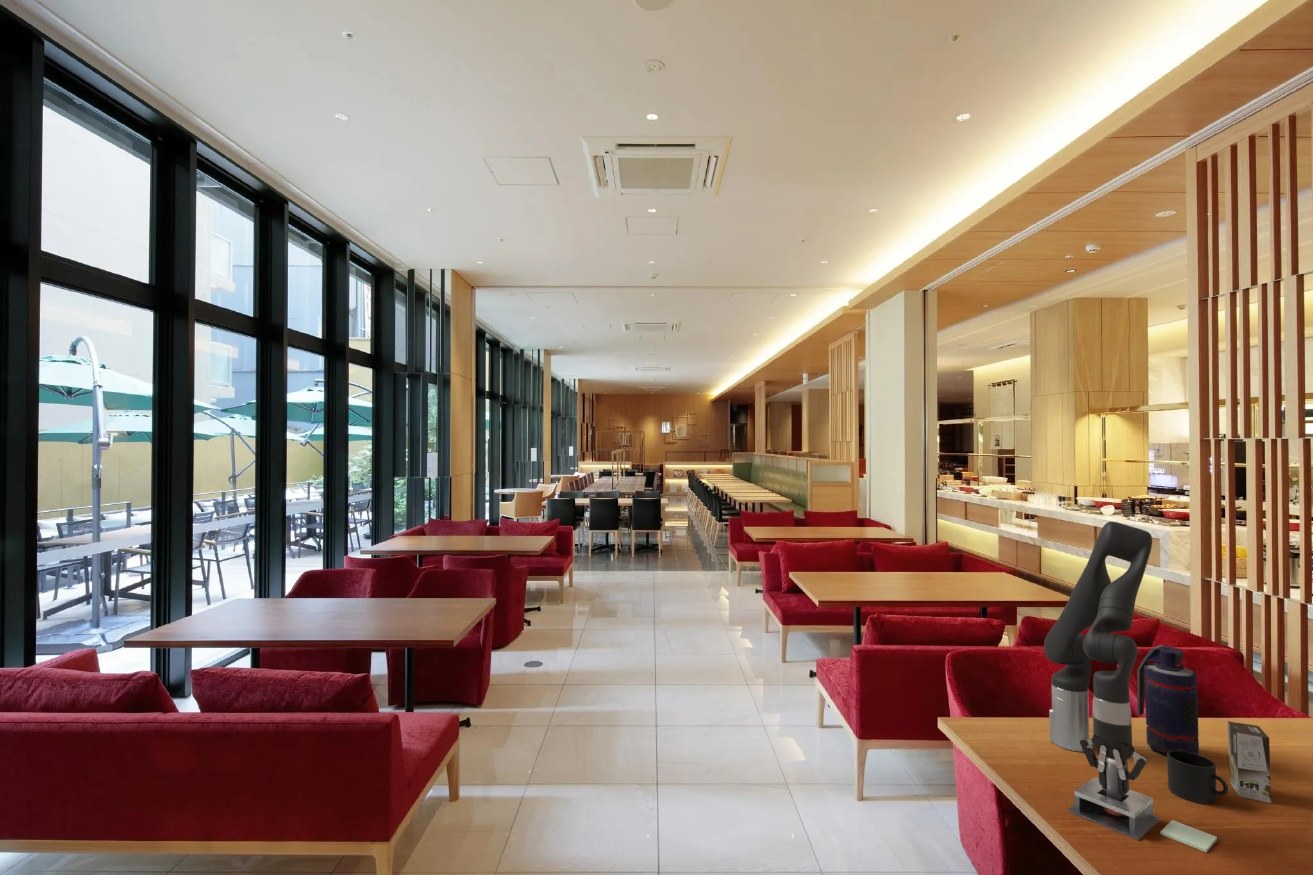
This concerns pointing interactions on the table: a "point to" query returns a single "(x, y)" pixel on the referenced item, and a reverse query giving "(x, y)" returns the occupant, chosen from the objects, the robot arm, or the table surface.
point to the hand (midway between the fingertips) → (1113, 790)
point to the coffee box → (1249, 761)
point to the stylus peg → (1112, 780)
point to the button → (1112, 812)
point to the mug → (1193, 777)
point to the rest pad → (1189, 836)
